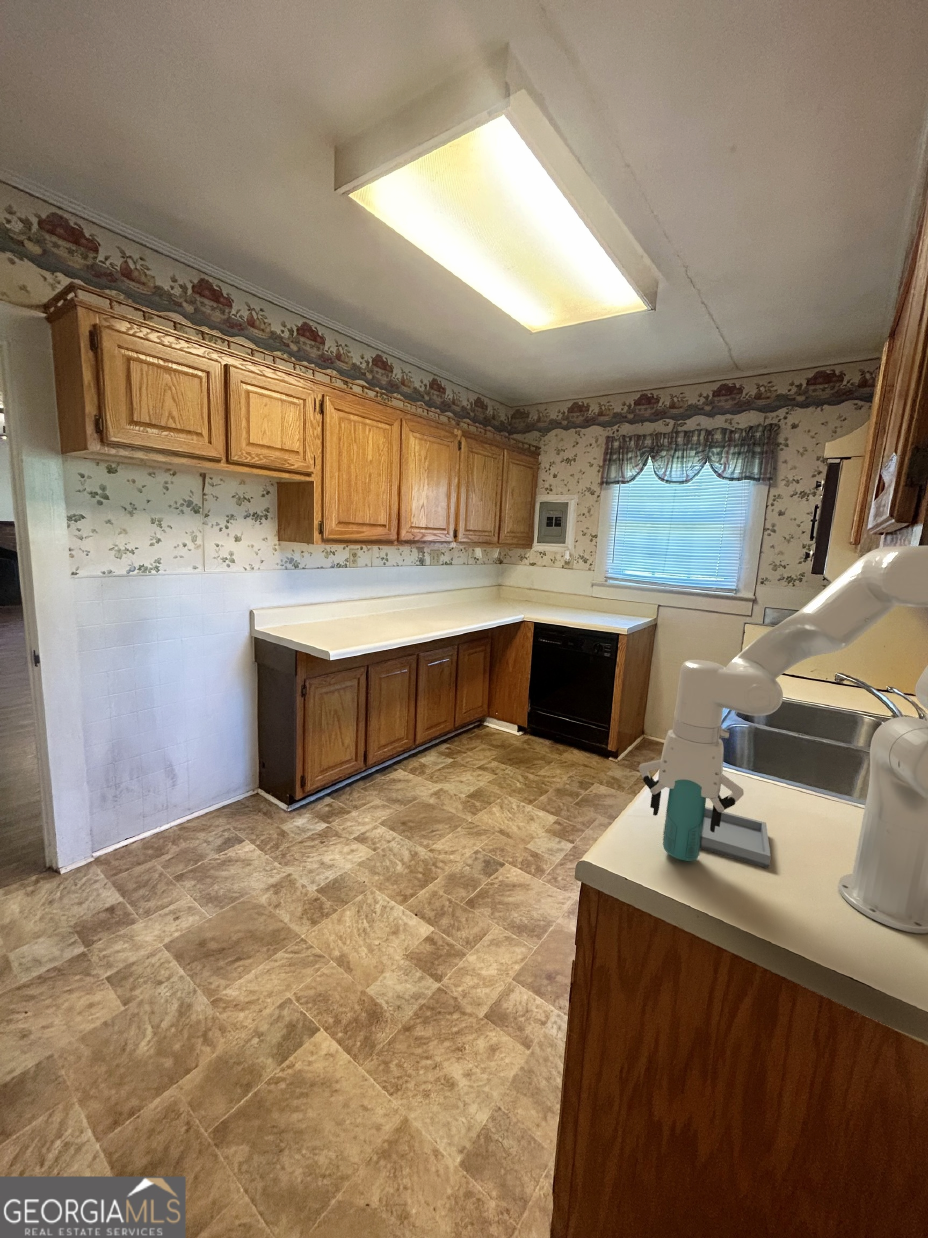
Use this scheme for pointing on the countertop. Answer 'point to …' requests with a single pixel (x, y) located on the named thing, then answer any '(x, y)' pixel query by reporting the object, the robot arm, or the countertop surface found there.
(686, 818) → the beverage bottle
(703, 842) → the tray
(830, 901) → the countertop surface
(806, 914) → the countertop surface
